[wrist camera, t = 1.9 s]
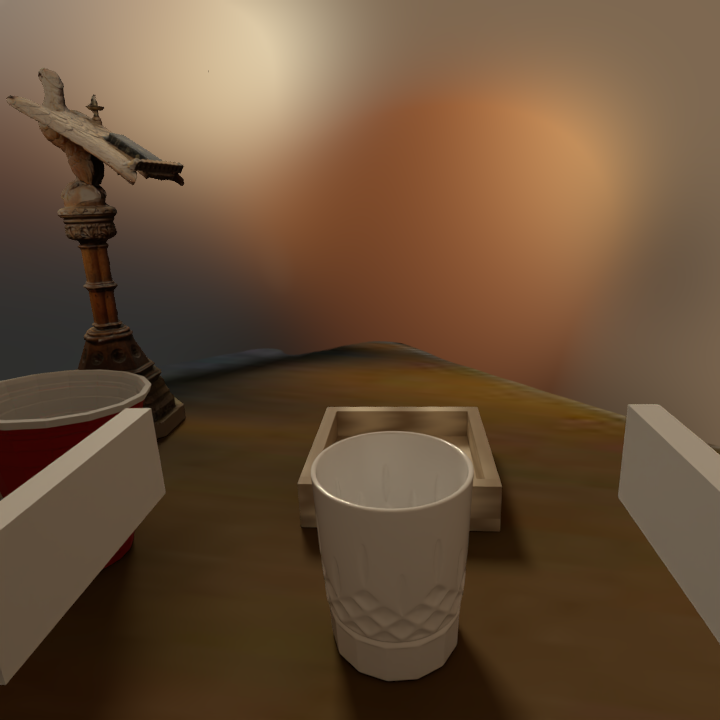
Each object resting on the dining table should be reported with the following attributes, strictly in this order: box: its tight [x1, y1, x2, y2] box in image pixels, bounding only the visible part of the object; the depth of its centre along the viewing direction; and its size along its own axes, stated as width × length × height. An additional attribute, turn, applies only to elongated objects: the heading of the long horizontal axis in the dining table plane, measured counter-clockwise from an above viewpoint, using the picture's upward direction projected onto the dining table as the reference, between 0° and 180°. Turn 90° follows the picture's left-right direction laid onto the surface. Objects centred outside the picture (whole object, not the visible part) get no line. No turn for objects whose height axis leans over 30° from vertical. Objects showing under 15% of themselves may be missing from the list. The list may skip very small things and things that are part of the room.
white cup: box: [311, 431, 474, 681], centre depth 27 cm, size 8×8×10 cm
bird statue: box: [6, 68, 186, 439], centre depth 52 cm, size 17×13×35 cm
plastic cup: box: [0, 370, 151, 569], centre depth 35 cm, size 11×11×12 cm
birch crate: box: [298, 407, 502, 531], centre depth 43 cm, size 14×14×4 cm
